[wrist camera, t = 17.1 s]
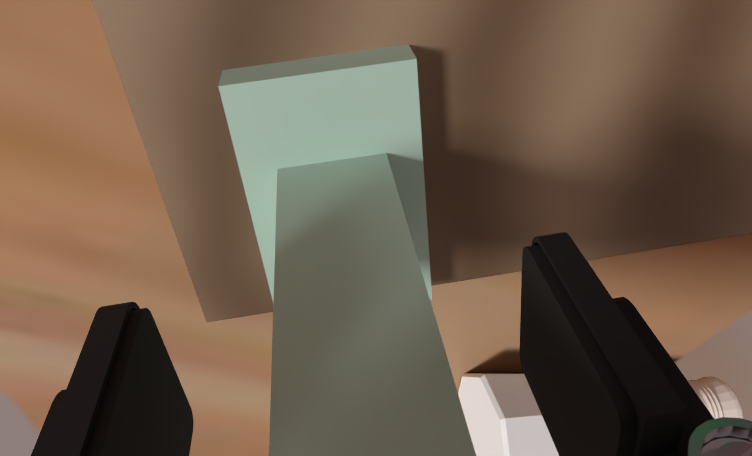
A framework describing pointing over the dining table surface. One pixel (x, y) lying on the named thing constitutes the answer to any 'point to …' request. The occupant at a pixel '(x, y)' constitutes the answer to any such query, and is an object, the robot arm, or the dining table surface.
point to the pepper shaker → (525, 422)
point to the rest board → (466, 122)
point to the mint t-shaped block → (345, 255)
